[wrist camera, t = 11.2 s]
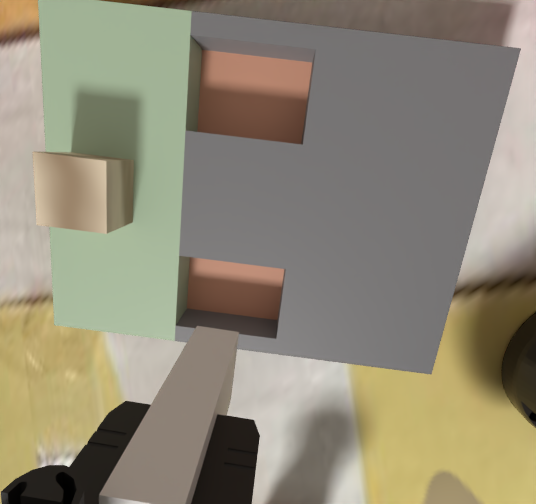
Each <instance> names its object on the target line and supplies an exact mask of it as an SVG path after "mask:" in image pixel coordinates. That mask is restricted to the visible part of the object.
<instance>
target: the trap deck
mask: <svg viewBox="0 0 536 504" xmlns="http://www.w3.org/2000/svg"><path fill="white" fill-rule="evenodd" d="M38 7H39V27H40V47H41V67H42V87H43V107H44V127H45V147H46V152H73V153H81V154H89V155H97V156H105V157H113V158H122V159H130V160H134V176H133V223H130V224H128V225H126V226H124V227H121V228H119V229H117V230H114V231H112V232H110V233H108V234H103V233H96V232H88V231H80V230H72V229H64V228H56V227H50V247H51V267H52V287H53V307H54V325H58V326H65V327H73V328H80V329H88V330H96V331H103V332H111V333H119V334H126V335H134V336H142V337H149V338H157V339H165V340H172V341H180V342H188V340H189V339H190V337H191V335H192V334H193V332H194V330H195V328H196V327H197V326H202V327H209V328H215V329H222V330H228V331H235V332H239V336H238V344H237V349H241V350H249V351H256V352H264V353H272V354H279V355H287V356H295V357H302V358H310V359H318V360H325V361H333V362H340V363H348V364H356V365H363V366H371V367H379V368H386V369H394V370H402V371H409V372H417V373H425V374H432V370H433V366H434V363H435V359H436V355H437V352H438V348H439V344H440V341H441V337H442V334H443V330H444V326H445V323H446V319H447V315H448V312H449V308H450V304H451V301H452V297H453V294H454V290H455V286H456V283H457V279H458V275H459V272H460V268H461V265H462V261H463V257H464V254H465V250H466V246H467V243H468V239H469V235H470V232H471V228H472V225H473V221H474V217H475V214H476V210H477V206H478V203H479V199H480V195H481V192H482V188H483V185H484V181H485V177H486V174H487V170H488V166H489V163H490V159H491V155H492V152H493V148H494V145H495V141H496V137H497V134H498V130H499V126H500V123H501V119H502V115H503V112H504V108H505V105H506V101H507V97H508V94H509V90H510V86H511V83H512V79H513V75H514V72H515V68H516V65H517V61H518V57H519V54H520V50H521V48H513V47H504V46H495V45H486V44H477V43H469V42H460V41H451V40H442V39H433V38H425V37H416V36H407V35H398V34H389V33H381V32H372V31H363V30H354V29H345V28H337V27H328V26H319V25H310V24H301V23H293V22H284V21H275V20H266V19H257V18H249V17H240V16H231V15H222V14H213V13H205V12H196V11H187V10H178V9H169V8H161V7H152V6H143V5H134V4H126V3H117V2H108V1H99V0H38Z"/></svg>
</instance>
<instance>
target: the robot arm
mask: <svg viewBox="0 0 536 504" xmlns="http://www.w3.org/2000/svg"><path fill="white" fill-rule="evenodd" d="M238 336H239V332H235V331H228V330H222V329H215V328H209V327H202V326H197V327H196V328H195V330H194V332H193V334H192V335H191V337H190V339H189V340H188V342H187V344H186V346H185V347H184V349H183V351H182V353H181V354H180V356H179V358H178V359H177V361H176V363H175V365H174V366H173V368H172V370H171V371H170V373H169V375H168V377H167V378H166V380H165V382H164V384H163V385H162V387H161V389H160V390H159V392H158V394H157V396H156V397H155V399H154V401H153V403H152V404H151V405H148V404H142V403H136V402H130V401H125V402H124V403H122V404H121V405H119V406H118V407H116V408H115V409H114V410H112V411H111V412H109V413H108V415H107V416H106V417H105V419H104V420H103V422H102V423H101V424H100V426H99V427H98V429H97V432H96V431H95V433H94V434H93V435H92V437H91V438H90V439H89V441H88V444H87V445H85V446H84V448H83V449H82V450H81V452H80V453H79V454H78V456H77V457H76V459H75V460H74V461H73V463H72V464H71V465H70V467H67V466H65V465H49V466H45V467H42V468H38V469H34V470H31V471H30V472H28V473H26V474H24V475H22V476H20V477H19V478H17V479H15V480H14V481H13V482H12V483H10V484H9V485H8V486H7V487H6V488H5V489H4V490H3V491H1V500H2V504H252V496H253V487H254V479H255V470H256V462H257V454H258V445H259V437H260V435H259V433H258V430H257V427H256V425H255V422H254V420H251V419H244V418H238V417H232V416H226V415H227V411H228V408H229V404H230V400H231V393H232V385H233V377H234V369H235V360H236V352H237V344H238ZM502 381H503V386H504V389H505V392H506V394H507V396H508V398H509V400H510V401H511V403H512V404H513V405H514V407H515V408H516V409H517V410H518V411H519V412H520V413H521V414H522V415H523V416H524V418H525V419H526V420H527V421H528V422H529V423H530V424H531V425H532V426H534V427H535V428H536V313H535V314H534V315H533V316H531V317H530V318H529V319H528V320H527V321H526V322H525V323H524V324H523V325H522V326H521V327H520V328H519V330H518V331H517V332H516V334H515V335H514V337H513V338H512V340H511V341H510V343H509V345H508V347H507V350H506V352H505V356H504V359H503V364H502Z"/></svg>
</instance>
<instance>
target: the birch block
mask: <svg viewBox="0 0 536 504" xmlns="http://www.w3.org/2000/svg"><path fill="white" fill-rule="evenodd" d="M33 168H34V186H35V203H36V220H37V225H41V226H49V227H56V228H64V229H72V230H80V231H88V232H96V233H103V234H108V233H110V232H112V231H114V230H117V229H119V228H121V227H124V226H126V225H128V224H130V223H133V176H134V160H130V159H122V158H113V157H105V156H97V155H89V154H81V153H73V152H33Z"/></svg>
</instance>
